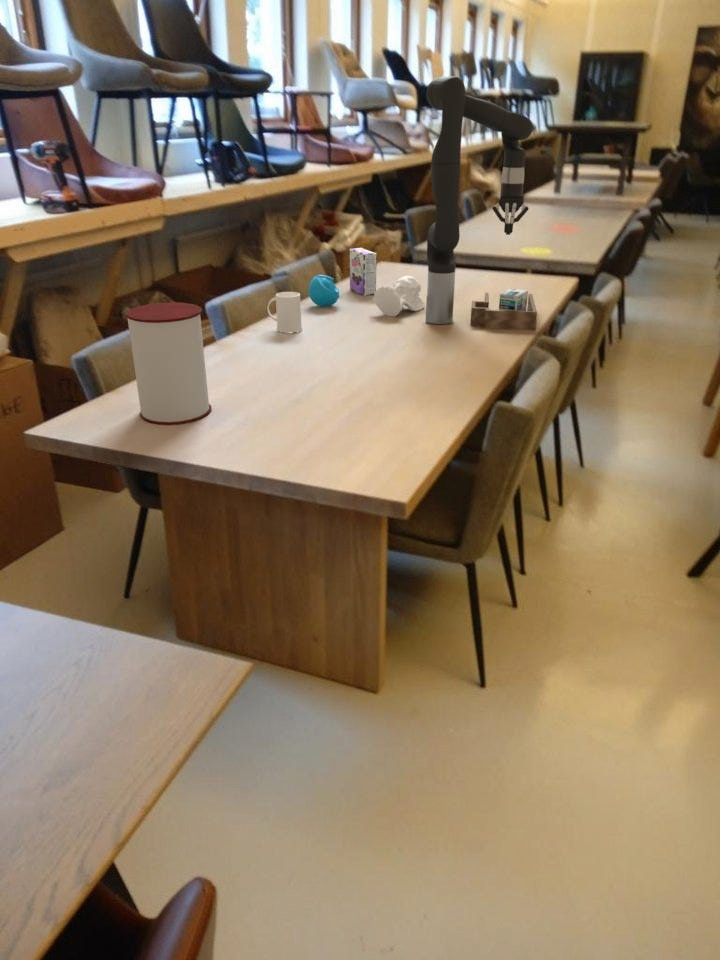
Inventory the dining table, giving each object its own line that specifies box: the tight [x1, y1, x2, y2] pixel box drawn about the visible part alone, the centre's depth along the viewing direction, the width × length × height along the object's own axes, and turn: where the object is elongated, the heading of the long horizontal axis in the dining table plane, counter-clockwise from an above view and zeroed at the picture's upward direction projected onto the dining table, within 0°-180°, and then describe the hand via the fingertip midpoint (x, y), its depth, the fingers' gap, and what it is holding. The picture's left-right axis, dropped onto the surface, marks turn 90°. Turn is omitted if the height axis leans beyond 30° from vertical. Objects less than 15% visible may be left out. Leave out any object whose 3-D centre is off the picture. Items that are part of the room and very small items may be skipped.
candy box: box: [349, 247, 378, 297], centre depth 299 cm, size 14×6×16 cm, turn 25°
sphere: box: [308, 274, 340, 308], centre depth 278 cm, size 12×11×12 cm
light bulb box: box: [498, 287, 529, 311], centre depth 257 cm, size 11×7×11 cm, turn 150°
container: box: [125, 301, 212, 426], centre depth 178 cm, size 17×17×25 cm
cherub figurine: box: [372, 275, 426, 318], centre depth 273 cm, size 13×12×20 cm
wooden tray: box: [470, 292, 538, 331], centre depth 263 cm, size 22×27×6 cm
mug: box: [267, 291, 303, 333], centre depth 249 cm, size 12×8×12 cm
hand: (508, 234), depth 262 cm, fingers closed
